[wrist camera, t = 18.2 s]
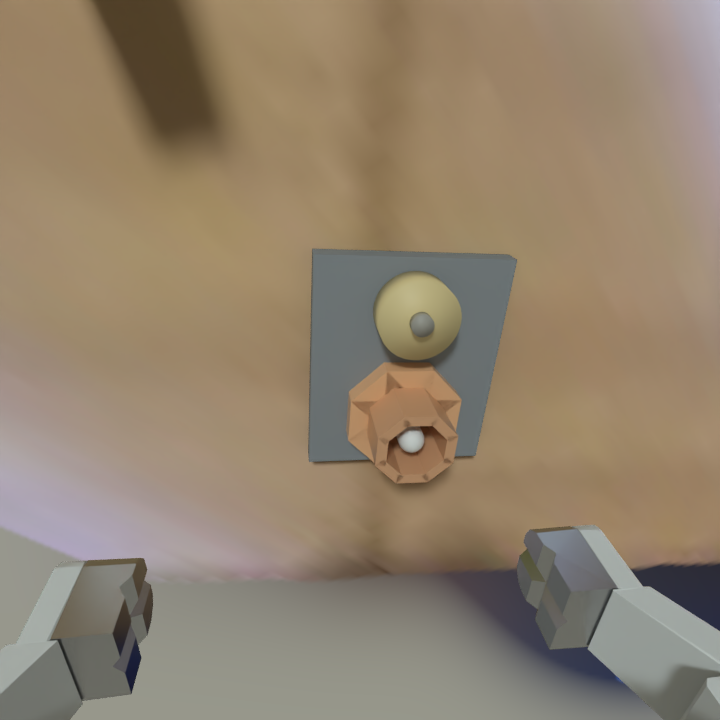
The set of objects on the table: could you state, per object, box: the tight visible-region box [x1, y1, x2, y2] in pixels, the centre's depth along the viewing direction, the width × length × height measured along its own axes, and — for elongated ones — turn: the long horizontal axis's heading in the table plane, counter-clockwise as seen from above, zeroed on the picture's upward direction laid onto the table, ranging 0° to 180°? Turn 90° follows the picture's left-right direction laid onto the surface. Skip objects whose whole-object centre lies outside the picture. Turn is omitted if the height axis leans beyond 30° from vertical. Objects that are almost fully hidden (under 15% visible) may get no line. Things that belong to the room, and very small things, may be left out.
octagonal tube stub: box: [346, 362, 462, 483], centre depth 38 cm, size 9×9×6 cm
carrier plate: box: [308, 249, 517, 462], centre depth 37 cm, size 15×18×6 cm
